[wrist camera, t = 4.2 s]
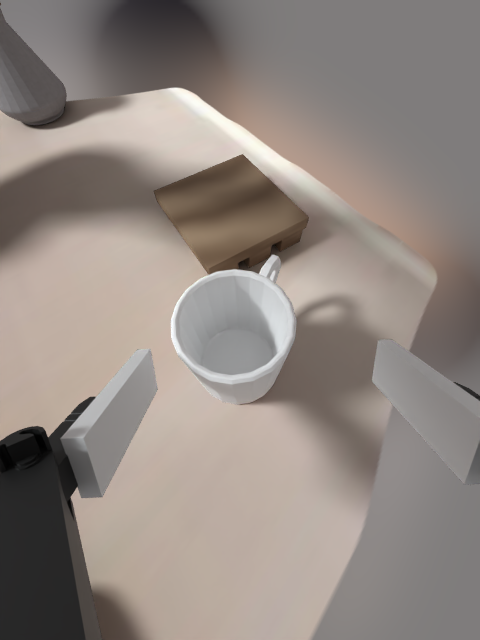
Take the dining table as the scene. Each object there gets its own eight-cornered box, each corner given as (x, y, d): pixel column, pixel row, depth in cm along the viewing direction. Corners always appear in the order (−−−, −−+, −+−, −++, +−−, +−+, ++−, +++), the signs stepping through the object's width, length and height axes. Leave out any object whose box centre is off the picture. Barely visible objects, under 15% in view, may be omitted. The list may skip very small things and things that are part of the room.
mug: (305, 314, 27) (334, 253, 18) (256, 420, 23) (263, 408, 14) (239, 286, 29) (235, 217, 20) (182, 379, 24) (144, 345, 15)
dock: (162, 214, 34) (153, 191, 31) (242, 178, 37) (242, 154, 34) (212, 287, 29) (208, 268, 26) (302, 239, 31) (308, 217, 28)
